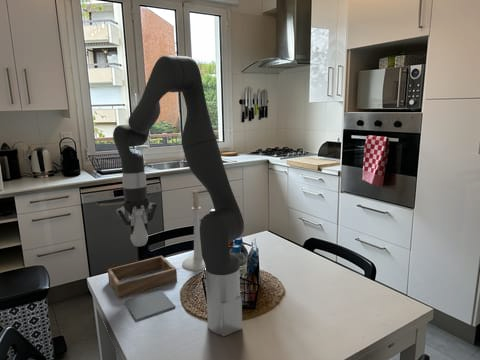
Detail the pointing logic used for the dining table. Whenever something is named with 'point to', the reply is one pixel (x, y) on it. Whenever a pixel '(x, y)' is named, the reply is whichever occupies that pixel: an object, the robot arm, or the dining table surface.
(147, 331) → the dining table surface
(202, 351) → the dining table surface
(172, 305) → the grey mat
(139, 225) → the salt shaker
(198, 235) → the candlestick
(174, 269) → the frame
